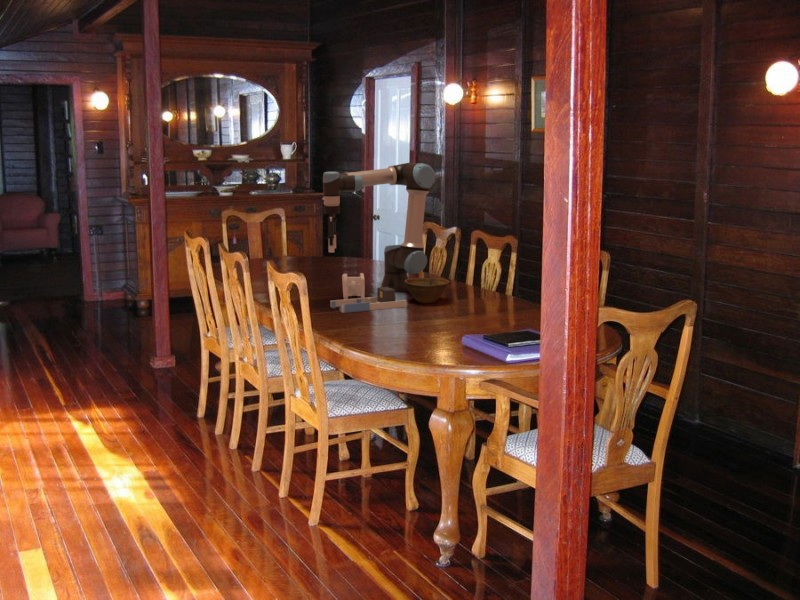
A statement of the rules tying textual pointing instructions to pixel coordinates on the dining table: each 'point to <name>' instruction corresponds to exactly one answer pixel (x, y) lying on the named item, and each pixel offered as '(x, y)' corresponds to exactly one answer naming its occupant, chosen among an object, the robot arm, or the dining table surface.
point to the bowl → (426, 288)
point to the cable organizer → (353, 286)
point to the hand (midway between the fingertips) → (332, 250)
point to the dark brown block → (385, 294)
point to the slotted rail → (365, 304)
